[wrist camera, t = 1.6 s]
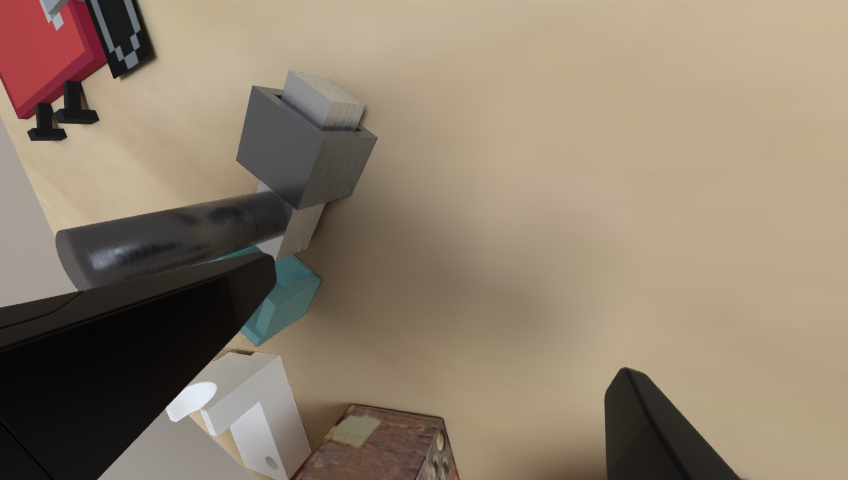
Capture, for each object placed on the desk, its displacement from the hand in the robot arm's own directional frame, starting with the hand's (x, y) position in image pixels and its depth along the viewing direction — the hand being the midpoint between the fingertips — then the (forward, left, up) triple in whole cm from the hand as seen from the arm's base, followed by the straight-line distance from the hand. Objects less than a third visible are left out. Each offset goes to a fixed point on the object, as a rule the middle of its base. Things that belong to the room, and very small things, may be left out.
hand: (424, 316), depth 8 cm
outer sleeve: (+4, +11, -12) cm, 17 cm away
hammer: (+3, +13, -11) cm, 17 cm away
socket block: (-6, +19, -12) cm, 23 cm away
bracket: (-22, +25, -12) cm, 35 cm away
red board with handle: (+15, +44, -12) cm, 48 cm away
